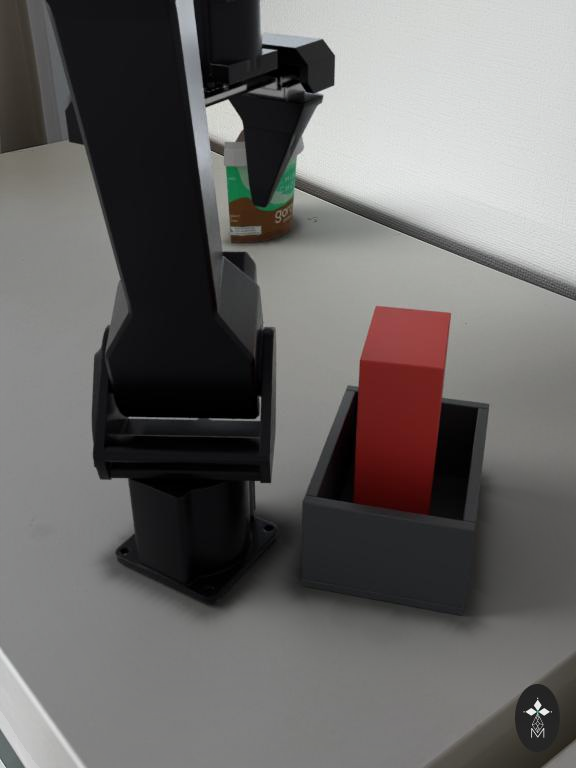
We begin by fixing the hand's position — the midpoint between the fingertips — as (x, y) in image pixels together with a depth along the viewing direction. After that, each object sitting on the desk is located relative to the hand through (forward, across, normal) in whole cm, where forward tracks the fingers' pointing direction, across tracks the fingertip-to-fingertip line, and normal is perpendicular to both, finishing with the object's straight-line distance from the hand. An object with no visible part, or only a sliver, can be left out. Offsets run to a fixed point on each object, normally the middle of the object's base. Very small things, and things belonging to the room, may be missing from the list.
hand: (220, 228), depth 55 cm
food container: (+12, -28, -14) cm, 34 cm away
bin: (+12, +7, +16) cm, 22 cm away
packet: (+12, +6, +16) cm, 20 cm away
